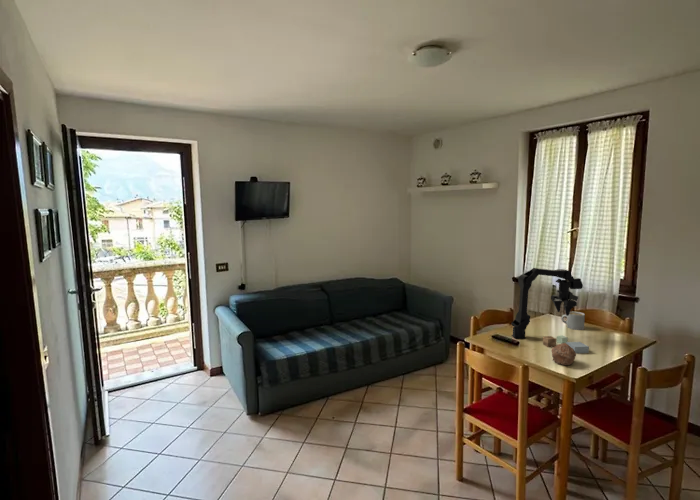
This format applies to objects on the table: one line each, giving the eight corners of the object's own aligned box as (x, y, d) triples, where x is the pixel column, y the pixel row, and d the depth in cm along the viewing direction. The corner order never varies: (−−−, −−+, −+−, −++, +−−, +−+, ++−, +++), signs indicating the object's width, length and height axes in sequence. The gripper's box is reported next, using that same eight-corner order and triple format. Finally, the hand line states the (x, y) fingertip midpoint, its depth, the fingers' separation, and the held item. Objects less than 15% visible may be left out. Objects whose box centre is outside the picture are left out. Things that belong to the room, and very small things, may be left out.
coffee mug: (586, 327, 259) (586, 313, 258) (581, 331, 252) (582, 316, 251) (564, 323, 268) (565, 309, 267) (559, 326, 262) (560, 312, 261)
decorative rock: (556, 356, 209) (557, 338, 208) (579, 362, 201) (580, 344, 200) (546, 363, 201) (547, 344, 200) (569, 369, 192) (570, 350, 191)
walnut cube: (547, 347, 224) (548, 339, 223) (543, 344, 228) (543, 336, 228) (556, 347, 224) (556, 338, 223) (551, 344, 229) (551, 336, 228)
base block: (574, 353, 213) (575, 347, 213) (566, 348, 221) (566, 342, 221) (588, 353, 214) (588, 346, 213) (579, 348, 222) (579, 341, 221)
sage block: (562, 344, 228) (562, 337, 228) (556, 342, 232) (556, 335, 231) (567, 343, 229) (567, 337, 229) (561, 341, 233) (562, 335, 233)
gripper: (586, 292, 230) (584, 317, 232) (567, 286, 249) (566, 309, 251) (568, 292, 230) (567, 317, 232) (550, 286, 249) (549, 310, 250)
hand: (562, 313), depth 241 cm, fingers open, 9 cm apart
